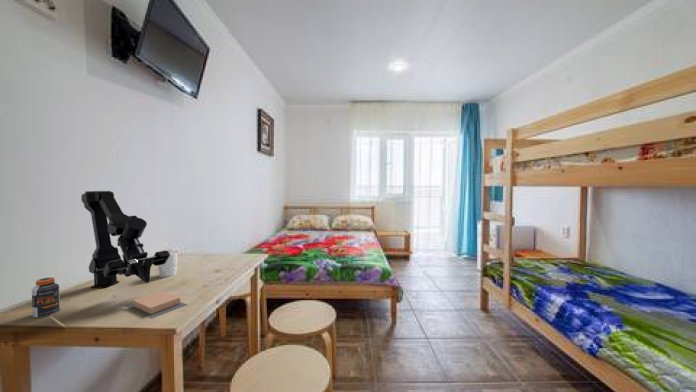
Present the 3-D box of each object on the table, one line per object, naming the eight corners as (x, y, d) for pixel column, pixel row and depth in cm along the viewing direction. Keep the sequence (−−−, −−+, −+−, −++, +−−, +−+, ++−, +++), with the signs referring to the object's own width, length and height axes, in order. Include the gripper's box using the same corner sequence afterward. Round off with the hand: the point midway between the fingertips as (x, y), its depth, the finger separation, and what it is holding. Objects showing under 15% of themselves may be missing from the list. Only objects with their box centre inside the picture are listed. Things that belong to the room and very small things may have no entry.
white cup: (182, 273, 128) (181, 252, 128) (166, 278, 121) (165, 256, 120) (169, 271, 131) (169, 250, 130) (153, 276, 123) (152, 254, 123)
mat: (123, 306, 93) (123, 305, 93) (158, 294, 103) (158, 293, 103) (151, 319, 84) (151, 318, 84) (187, 305, 93) (187, 304, 93)
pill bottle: (35, 319, 84) (33, 283, 84) (30, 315, 88) (28, 280, 87) (62, 312, 89) (60, 277, 89) (57, 307, 93) (55, 274, 92)
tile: (132, 300, 92) (150, 307, 86) (161, 290, 100) (180, 297, 94) (132, 306, 92) (150, 315, 86) (161, 297, 100) (180, 304, 94)
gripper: (152, 255, 112) (168, 286, 106) (92, 267, 95) (107, 305, 90) (162, 237, 107) (178, 269, 102) (101, 247, 91) (117, 285, 86)
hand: (147, 282), depth 95 cm, fingers closed
